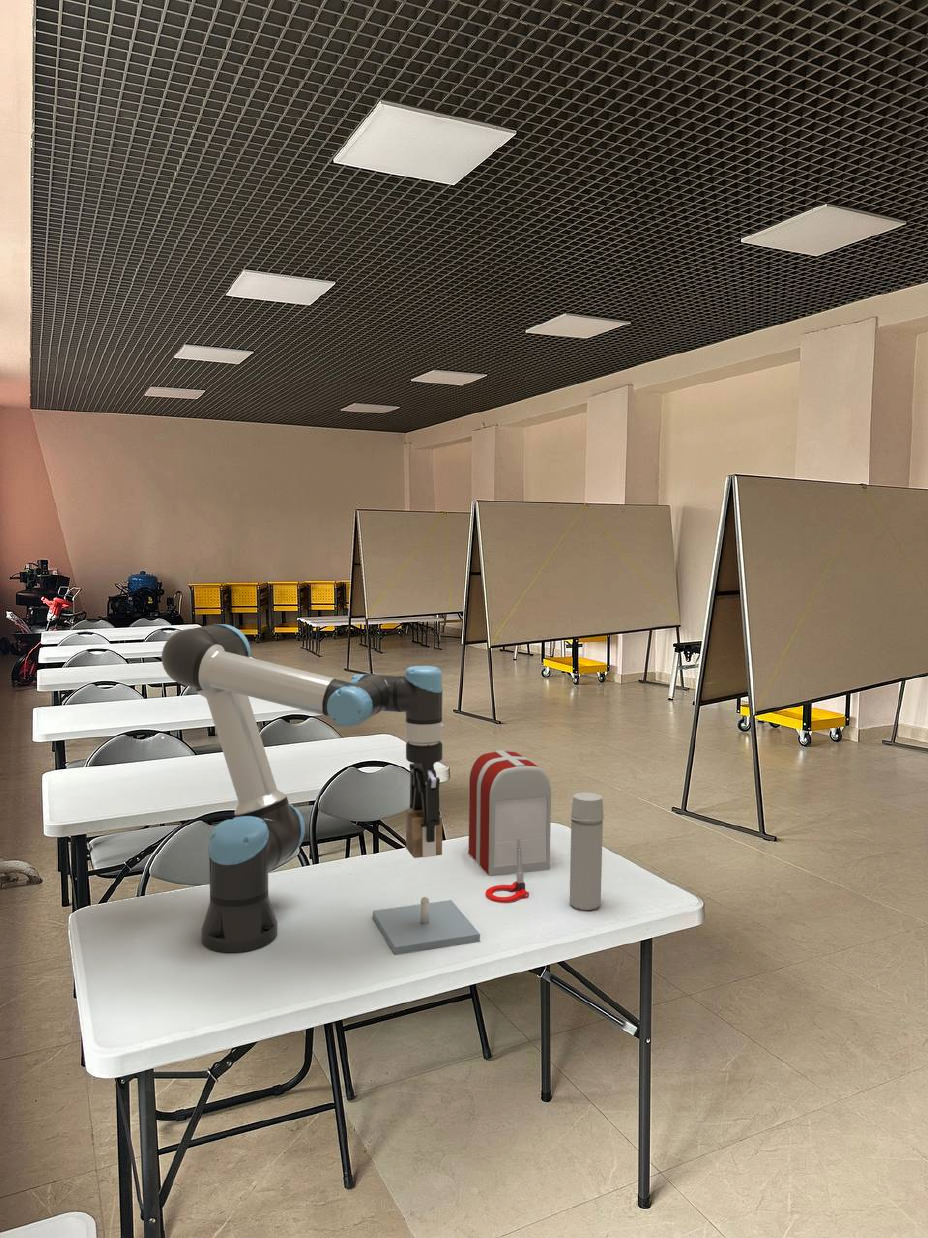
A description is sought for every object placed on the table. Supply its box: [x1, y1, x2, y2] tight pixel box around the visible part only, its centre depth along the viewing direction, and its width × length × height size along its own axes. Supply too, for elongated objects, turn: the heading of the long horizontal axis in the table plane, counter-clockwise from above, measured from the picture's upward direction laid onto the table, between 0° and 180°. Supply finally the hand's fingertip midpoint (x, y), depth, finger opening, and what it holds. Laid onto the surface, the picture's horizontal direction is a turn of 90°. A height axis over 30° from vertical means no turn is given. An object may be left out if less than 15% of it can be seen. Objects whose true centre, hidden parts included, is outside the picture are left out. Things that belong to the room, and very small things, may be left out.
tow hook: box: [485, 839, 530, 904], centre depth 202 cm, size 8×13×9 cm
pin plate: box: [372, 896, 481, 955], centre depth 184 cm, size 18×18×7 cm
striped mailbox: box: [467, 749, 552, 877], centre depth 223 cm, size 16×18×27 cm
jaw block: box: [405, 810, 443, 859], centre depth 182 cm, size 6×6×8 cm
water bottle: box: [568, 791, 605, 911], centre depth 197 cm, size 9×8×25 cm
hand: (424, 850), depth 182 cm, fingers closed on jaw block, 6 cm apart
